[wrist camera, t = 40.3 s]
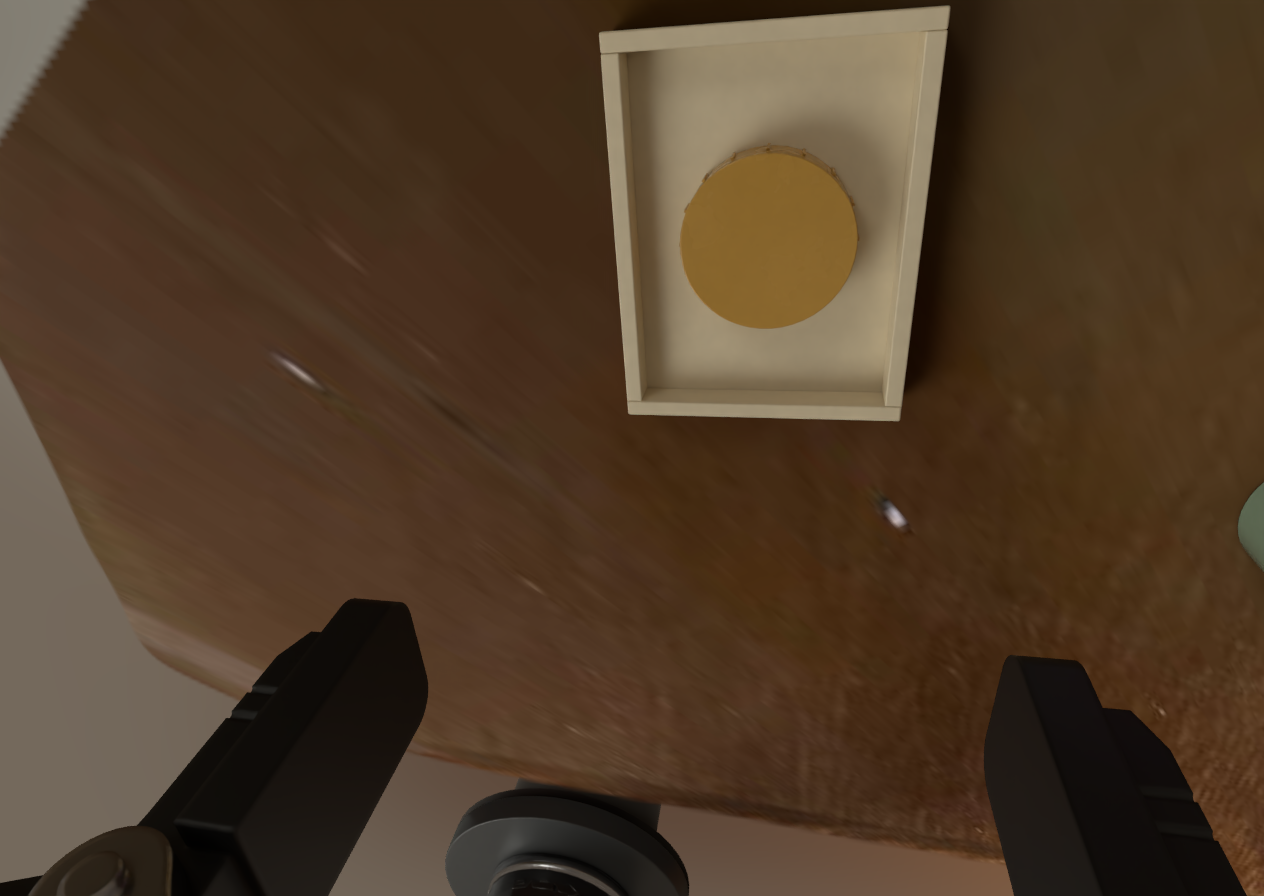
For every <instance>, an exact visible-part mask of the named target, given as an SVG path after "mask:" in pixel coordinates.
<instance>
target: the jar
mask: <svg viewBox="0 0 1264 896" xmlns="http://www.w3.org/2000/svg"><path fill="white" fill-rule="evenodd" d="M1238 536H1239V539H1240V542H1241V544H1242V546H1243V548H1244V550H1245V551H1246V552H1247V554H1248V555H1249V556H1250V557H1251V558H1252V560H1253V561H1254V562H1255V563H1256V564H1257V565H1258V567H1259V568H1260V569H1261V570H1262V571H1263V573H1264V482H1263V483H1262V484H1261V485H1260V486H1259V487H1258V488H1257V489H1256V490H1255V491H1254V492H1253V493H1252V494H1251V495H1250V497H1249V498H1248V500H1247V501H1246V503H1245V505H1244V507H1243V509H1242V511H1241V514H1240V517H1239V521H1238Z"/></svg>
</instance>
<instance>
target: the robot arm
mask: <svg viewBox="0 0 1264 896" xmlns="http://www.w3.org/2000/svg"><path fill="white" fill-rule="evenodd" d="M427 698H428V680H427V675H426V671H425V667H424V663H423V660H422V656H421V652H420V648H419V644H418V640H417V637H416V633H415V629H414V625H413V621H412V617H411V614H410V611H409V609H408V607H407V606H406V605H405V604H404V603H402V602H393V601H381V600H369V599H357V598H354V599H350V600H348V601H347V602H345V603H344V604H343V605H342V606H341V608H340V609H339V610H338V611H337V613H336V614H335V615H334V617H333V618H332V619H331V620H330V622H329V623H328V624H327V625H326V627H325V628H324V629H323V631H322V632H310V633H309V634H307V635H306V636H304V637H303V638H302V639H300V640H299V641H297V642H296V643H295V644H293V645H292V646H291V647H289V648H288V649H286V650H285V651H284V652H282V653H281V654H279V655H278V656H277V657H276V658H275V659H274V661H273V662H272V663H271V664H270V665H269V667H268V668H267V669H266V670H265V671H264V673H263V674H262V675H261V676H260V678H259V679H258V680H257V681H256V682H255V684H254V685H253V686H252V691H251V693H248V692H247V693H246V695H245V696H244V697H243V698H242V699H241V701H240V702H239V703H238V704H237V706H236V707H235V708H234V709H233V710H232V716H231V717H230V718H226V719H225V720H224V721H223V723H222V724H221V725H220V726H219V727H218V729H217V730H216V731H215V732H214V734H213V735H212V736H211V737H210V738H209V740H208V741H207V742H206V743H205V745H204V746H203V747H202V748H201V749H200V751H199V752H198V753H197V754H196V755H195V757H194V758H193V759H192V760H191V762H190V763H189V764H188V765H187V767H186V768H185V769H184V770H183V771H182V773H181V774H180V775H179V776H178V777H177V779H176V780H175V781H174V782H173V784H172V785H171V786H170V787H169V788H168V790H167V791H166V792H165V793H164V794H163V796H162V797H161V798H160V799H159V801H158V802H157V803H156V804H155V806H154V807H153V808H152V809H151V810H150V812H149V813H148V814H147V815H146V816H145V817H144V818H143V819H142V821H141V822H140V823H139V824H138V825H137V826H128V827H123V828H118V829H115V830H112V831H108V832H106V833H103V834H101V835H99V836H96V837H94V838H92V839H90V840H88V841H86V842H85V843H83V844H81V845H79V846H78V847H76V848H75V849H74V850H72V851H71V852H69V853H68V854H66V855H65V856H64V857H63V858H61V859H60V860H59V861H58V862H57V863H55V864H54V865H53V866H52V867H51V868H50V869H49V870H48V871H47V872H46V873H45V874H44V875H42V876H36V877H31V878H25V879H20V880H14V881H9V882H4V883H0V896H328V895H329V893H330V891H331V889H332V887H333V886H334V884H335V882H336V880H337V878H338V876H339V874H340V872H341V871H342V869H343V867H344V865H345V863H346V861H347V859H348V857H349V856H350V854H351V852H352V850H353V848H354V846H355V844H356V842H357V841H358V839H359V837H360V835H361V833H362V831H363V829H364V828H365V826H366V824H367V822H368V820H369V818H370V817H371V815H372V813H373V811H374V809H375V807H376V805H377V803H378V801H379V800H380V798H381V796H382V794H383V792H384V790H385V788H386V786H387V785H388V783H389V781H390V779H391V777H392V775H393V774H394V772H395V770H396V768H397V766H398V764H399V762H400V760H401V759H402V757H403V755H404V753H405V751H406V749H407V747H408V746H409V744H410V742H411V740H412V738H413V736H414V734H415V732H416V731H417V729H418V727H419V725H420V723H421V721H422V718H423V715H424V712H425V708H426V704H427ZM984 770H985V780H986V786H987V791H988V795H989V799H990V803H991V807H992V811H993V815H994V819H995V823H996V827H997V830H998V834H999V838H1000V842H1001V846H1002V850H1003V854H1004V858H1005V862H1006V866H1007V869H1008V873H1009V877H1010V881H1011V885H1012V889H1013V892H1014V896H1247V895H1246V893H1245V891H1244V890H1243V888H1242V886H1241V884H1240V882H1239V880H1238V878H1237V876H1236V874H1235V872H1234V871H1233V869H1232V867H1231V865H1230V863H1229V861H1228V859H1227V857H1226V855H1225V853H1224V851H1223V850H1222V848H1221V846H1220V844H1219V842H1218V841H1214V839H1213V835H1212V833H1213V831H1212V829H1211V827H1210V825H1209V823H1208V821H1207V819H1206V817H1205V815H1204V813H1203V811H1202V810H1201V808H1200V806H1199V804H1198V803H1197V802H1194V800H1193V792H1192V791H1191V789H1190V787H1189V785H1188V783H1187V781H1186V779H1185V777H1184V775H1183V773H1182V772H1181V770H1180V768H1179V766H1178V764H1177V762H1176V760H1175V758H1174V756H1173V754H1172V752H1171V751H1170V749H1169V748H1168V747H1167V746H1166V745H1165V744H1164V743H1163V742H1162V741H1161V740H1160V739H1159V738H1158V737H1157V736H1156V735H1155V734H1154V733H1153V732H1152V731H1151V730H1150V729H1149V728H1148V727H1147V726H1146V725H1145V724H1144V723H1143V722H1142V721H1141V720H1140V719H1139V718H1138V717H1137V716H1136V715H1135V714H1134V713H1133V712H1132V711H1130V710H1120V709H1109V708H1102V705H1101V703H1100V701H1099V699H1098V697H1097V694H1096V692H1095V690H1094V688H1093V686H1092V684H1091V681H1090V679H1089V677H1088V675H1087V673H1086V671H1085V669H1084V667H1083V666H1082V665H1081V664H1080V663H1079V662H1078V661H1075V660H1064V659H1052V658H1040V657H1028V656H1016V655H1010V656H1008V657H1007V658H1006V660H1005V662H1004V665H1003V669H1002V673H1001V677H1000V681H999V685H998V689H997V693H996V697H995V702H994V706H993V710H992V714H991V718H990V722H989V726H988V730H987V734H986V739H985V746H984ZM488 896H629V895H628V894H627V892H626V891H625V890H624V888H623V887H622V886H621V885H620V884H619V883H618V882H617V881H615V880H614V879H613V878H612V877H610V876H609V875H608V874H606V873H605V872H603V871H601V870H600V869H598V868H596V867H594V866H592V865H590V864H587V863H585V862H583V861H580V860H577V859H574V858H570V857H567V856H562V855H557V854H550V853H526V854H520V855H517V856H513V857H511V858H509V859H507V860H505V861H503V862H502V863H501V864H500V865H499V866H498V867H497V868H496V870H495V872H494V875H493V878H492V880H491V883H490V886H489V889H488Z"/></svg>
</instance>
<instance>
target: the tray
mask: <svg viewBox="0 0 1264 896" xmlns="http://www.w3.org/2000/svg"><path fill="white" fill-rule="evenodd" d="M950 10H951V8H950V6H948V5H947V6H933V7H920V8H906V9H893V10H880V11H867V12H854V13H841V14H828V15H814V16H801V17H788V18H775V19H762V20H749V21H735V22H722V23H709V24H696V25H683V26H670V27H657V28H643V29H630V30H617V31H605V32H600V34H599V39H600V51H601V53H602V55H601V65H602V78H603V91H604V104H605V117H606V130H607V143H608V156H609V169H610V182H611V195H612V208H613V221H614V234H615V247H616V260H617V273H618V285H619V298H620V311H621V324H622V337H623V350H624V363H625V376H626V389H627V399H628V413H629V414H635V415H675V416H715V417H755V418H795V419H835V420H875V421H899V420H900V416H901V406H902V401H903V392H904V384H905V376H906V368H907V360H908V352H909V344H910V336H911V327H912V319H913V311H914V303H915V295H916V287H917V279H918V271H919V262H920V254H921V246H922V238H923V230H924V222H925V214H926V205H927V197H928V189H929V181H930V173H931V165H932V157H933V149H934V140H935V132H936V124H937V116H938V108H939V100H940V92H941V84H942V75H943V67H944V59H945V51H946V43H947V35H948V31H947V30H946V29H947V28H948V26H949V18H950ZM767 143H771V145H781V146H789V147H793V148H798V149H800V150H802V148H805V149H806V152H808V153H810V154H812V155H814V156H816V157H817V158H819V159H820V160H822V161H823V162H824V163H826V164H827V165H828V166H829V167H830V168H831V167H834V168H835V171H836V174H837V176H838V177H839V178H840V180H841V181H842V182H843V184H844V186H845V188H846V190H847V192H848V194H849V196H852V197H853V200H854V203H855V206H853V209H854V212H855V216H856V221H857V227H858V234H859V238H860V239H859V241H858V247H857V253H856V258H855V262H854V265H853V268H852V271H851V273H850V275H849V277H848V279H847V281H846V283H845V284H844V286H843V287H842V289H841V290H840V292H839V293H838V294H837V295H836V296H835V298H834V299H833V300H832V301H831V302H830V303H829V304H828V305H826V306H825V307H824V308H823V309H822V310H820V311H819V312H817V313H816V314H815V315H813V316H811V317H809V318H807V319H806V320H804V321H801V322H798V323H796V324H793V325H789V326H786V327H781V328H773V329H758V328H749V327H745V326H741V325H738V324H735V323H732V322H730V321H728V320H726V319H724V318H722V317H720V316H719V315H717V314H716V313H714V312H713V311H712V310H710V309H709V308H708V307H707V306H706V305H705V304H704V303H703V302H702V301H701V300H700V299H699V297H698V296H697V295H696V294H695V292H694V291H693V289H692V287H691V286H690V284H689V282H688V280H687V278H686V275H685V272H684V269H683V266H682V261H681V256H680V247H679V243H680V233H681V228H682V223H683V219H684V216H685V213H684V210H685V208H686V206H687V205H688V203H690V202H691V200H692V198H693V197H694V195H695V193H696V191H697V189H698V188H699V186H700V185H701V183H702V179H703V177H704V176H705V174H706V173H708V174H709V173H710V172H711V171H712V170H713V169H715V168H716V167H717V166H718V165H719V164H720V163H722V162H723V161H725V160H726V159H728V158H729V157H731V156H732V154H733V152H736V153H739V152H741V151H744V150H747V149H750V148H754V147H759V146H767Z"/></svg>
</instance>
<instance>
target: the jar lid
mask: <svg viewBox="0 0 1264 896" xmlns="http://www.w3.org/2000/svg"><path fill="white" fill-rule="evenodd" d="M853 206H855V203H854V200H853V197H852V196H849V194H848V192H847V190H846V188H845V186H844V184H843V182H842V181H841V180H840V178H839V177H838V176H837V174H836V171H835V168H834V167H831V168H830V167H829V166H828V165H827V164H826V163H824V162H823V161H822V160H820V159H819V158H817V157H816V156H814V155H812V154H810V153H808V152H806V149H805V148H802V150H800V149H798V148H793V147H789V146H781V145H771V143H767V146H759V147H754V148H750V149H747V150H744V151H741V152H739V153H736V152H733V154H732V156H731V157H729V158H728V159H726V160H725V161H723V162H722V163H720V164H719V165H718V166H717V167H716V168H715V169H713V170H712V171H711V172H710V173H709V174H708V173H706V174H705V176H704V177H703V179H702V183H701V185H700V186H699V188H698V189H697V191H696V193H695V195H694V197H693V198H692V200H691V202H690V203H688V205H687V206H686V208H685V210H684V213H685V216H684V219H683V223H682V228H681V233H680V243H679V247H680V256H681V261H682V266H683V269H684V272H685V275H686V278H687V280H688V282H689V284H690V286H691V287H692V289H693V291H694V292H695V294H696V295H697V296H698V297H699V299H700V300H701V301H702V302H703V303H704V304H705V305H706V306H707V307H708V308H709V309H710V310H712V311H713V312H714V313H716V314H717V315H719V316H720V317H722V318H724V319H726V320H728V321H730V322H732V323H735V324H738V325H741V326H745V327H749V328H758V329H773V328H781V327H786V326H789V325H793V324H796V323H798V322H801V321H804V320H806V319H807V318H809V317H811V316H813V315H815V314H816V313H817V312H819V311H820V310H822V309H823V308H824V307H825V306H826V305H828V304H829V303H830V302H831V301H832V300H833V299H834V298H835V296H836V295H837V294H838V293H839V292H840V290H841V289H842V287H843V286H844V284H845V283H846V281H847V279H848V277H849V275H850V273H851V271H852V268H853V265H854V262H855V258H856V253H857V247H858V241H859V239H860V238H859V234H858V227H857V221H856V216H855V212H854V209H853Z"/></svg>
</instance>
